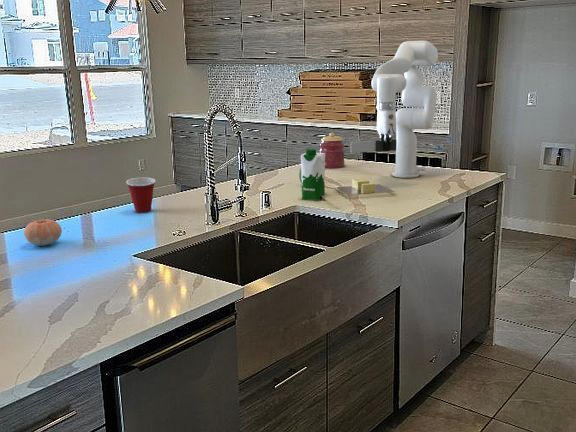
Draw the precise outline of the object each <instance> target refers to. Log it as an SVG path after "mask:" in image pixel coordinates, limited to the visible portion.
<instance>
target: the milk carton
mask: <svg viewBox="0 0 576 432" xmlns="http://www.w3.org/2000/svg"><path fill="white" fill-rule="evenodd" d="M300 168H301V174H302V183H301V200H307V201H308V200H309V201H320V200H321V199H323V198H324V197H323V196H324V195H325V194H326V193H325V191H326V189H325V187H326V186H325V185H326V180H325V179H326V177H325V175H326V172H325V171H326V170H325V169H326V168H325V153H320V152H317V149H316V148H307V149H305V152H304V153H302V154H300Z"/></svg>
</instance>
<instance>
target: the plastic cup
mask: <svg viewBox="0 0 576 432" xmlns="http://www.w3.org/2000/svg"><path fill="white" fill-rule="evenodd" d="M156 182H157V181H156V179H155V178H153V177H144V176H141V177H132V178H130V179H127V180H126V181H125V183H126V185H127V187H128V190H129V193H130V197H131V201H132V205H133V208H134V211H135V213H138V214H145V213H149V212H152V206H153V205H152V204H153V196H154V188H155V184H156Z"/></svg>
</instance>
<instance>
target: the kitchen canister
mask: <svg viewBox="0 0 576 432" xmlns="http://www.w3.org/2000/svg"><path fill="white" fill-rule="evenodd" d="M320 140H321V142H320V143H319V147H320V149H319V153H325V169H340V168H343V167H345V151H346V150H345V148H344V146H345V142H344V141H343V140H344V139H343V137H341V136H339V135H335V133H334V132H333V131H332V132H329V135H327V136H323V137H322V138H321V139H320Z"/></svg>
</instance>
